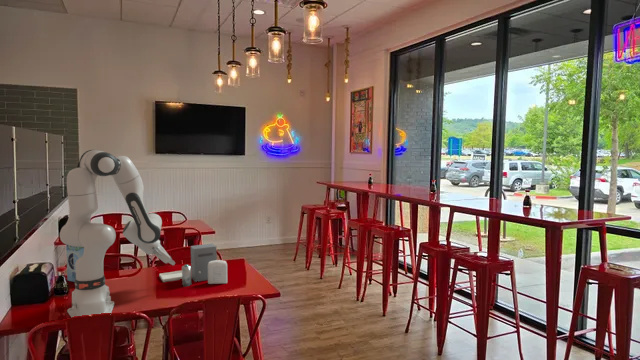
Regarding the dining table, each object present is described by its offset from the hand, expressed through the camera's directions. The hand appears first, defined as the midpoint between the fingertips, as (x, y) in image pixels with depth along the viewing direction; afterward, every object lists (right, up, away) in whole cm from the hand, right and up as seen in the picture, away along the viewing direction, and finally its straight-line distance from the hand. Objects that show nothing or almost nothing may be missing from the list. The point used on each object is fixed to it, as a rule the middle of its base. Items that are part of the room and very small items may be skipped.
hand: (172, 261), depth 223 cm
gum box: (-52, -13, +10) cm, 54 cm away
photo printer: (+22, -13, +8) cm, 26 cm away
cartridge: (+6, -13, +4) cm, 15 cm away
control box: (+12, -12, +16) cm, 23 cm away
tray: (-5, -12, +18) cm, 22 cm away
